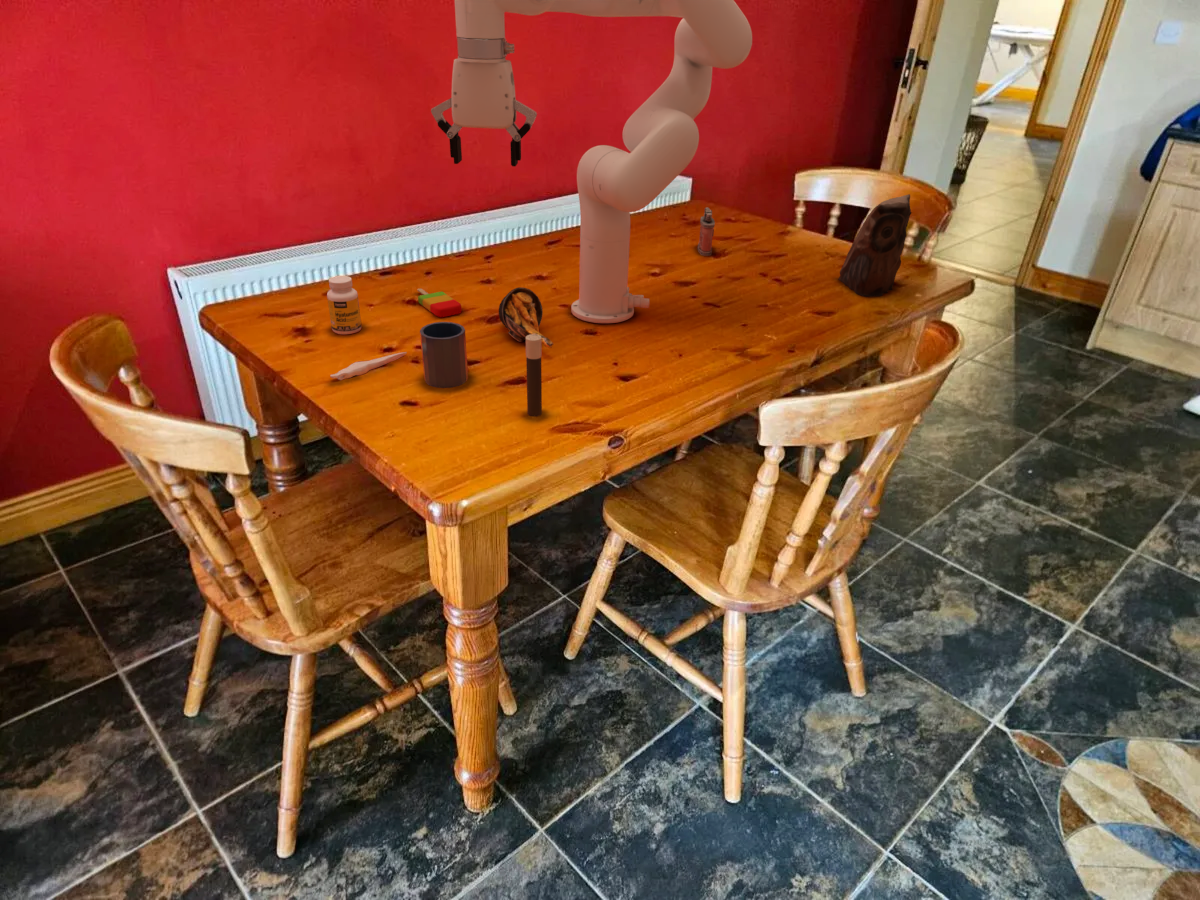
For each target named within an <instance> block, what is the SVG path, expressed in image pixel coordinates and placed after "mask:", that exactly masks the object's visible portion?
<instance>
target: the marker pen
mask: <svg viewBox="0 0 1200 900" xmlns="http://www.w3.org/2000/svg"><path fill="white" fill-rule="evenodd" d="M542 345H543V343H542V340H541V336H540V335H537V334H530V335H527V336H526V340H525V357H526V358H525V359H526V361H525V362H526V365H525V367H526V404H527V405H526V409H527V410H526V411H527V415H528V416H530V417H533V418H534V417H540V416H541V415H542V413H543V399H542V398H543V397H542V396H543V393H542V391H543V390H542V389H543V387H542V385H543V384H542V383H543V382H542V378H543V377H542V357H543V355H542V351H543V349H542Z"/></svg>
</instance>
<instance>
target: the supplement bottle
mask: <svg viewBox="0 0 1200 900" xmlns="http://www.w3.org/2000/svg"><path fill="white" fill-rule="evenodd" d="M328 283H329V284H328V285H329V290H328V291H327V294H326V298H327V299H326V300H327V304H328V312H329V313H328V314H329V319H330V325H331V326H330V327H331V330H332V332H333V333H335V334H338V335H351V334H355V333H358V332H360V331H361V330H362V318H361V309H360V301H359V293H358V291H357V290H356V289H355V288H353V279H352V277H350V276H349V275H335V276H332V277H329V279H328Z"/></svg>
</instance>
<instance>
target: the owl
mask: <svg viewBox="0 0 1200 900" xmlns="http://www.w3.org/2000/svg"><path fill="white" fill-rule="evenodd" d="M910 200H911V194H910V193H909V194H905V195H902V196H897V197H893V198H889V199H886V200H883V201H881V202H880V203H879V204H878V205H876V206H875V207H874V208H873V209H872V210H871V211H870V212H869V214H867V217H866V218H865V220H864V221H863V223H862V226H861V228H860V229H859V231H858V233H857V234H856V237H855V239H854V240H853V242H852V244H851V246H850V248H849V250H848V252H847V254H846V257H845V260H844V262H843V265H842V267H841V268H840V270H839V276H838V278H837V280H838V281H840V283H843V285H845V286H847V287H848V288H849V289H850V290H852V291H853V292H854V293H855V294H856V295H859V296H861V297H865V298H870V297H871V298H873V297H882V296H883V295H884V294H888V293H889V291H893V286H894V284H895V280H896V276H897V273H898V271H899V269H900V268H901V266H902V265H901V264H902V259H901V256H902V254H903V251H904V248H905V242H906V238H907V227H908V225H909V220H910V217H911V215H912V210H911V202H910Z"/></svg>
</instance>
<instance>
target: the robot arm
mask: <svg viewBox="0 0 1200 900" xmlns="http://www.w3.org/2000/svg"><path fill="white" fill-rule="evenodd" d="M548 12H550V13H552V12H553V13H568V14H570V13H571V14H576V15H582V16H587V17H598V18H599V17H601V18H618V17H619V18H620V17H621V18H622V17H623V18H624V17H625V18H626V17H674V18H682V19H681V20H680V21H679V23H678V25H677V27H676V30H675V33H674V42H673V43H674V44H673V45H674V46H673V47H674V49H673V50H674V51H673V52H674V54H673V64H672V67H671V71H670V73H669V75H668V76H667V78H666V79H665V80H664V81H663V82H662V83H661V85H660V86H659V87H658V88H656V89H655V91H654V92H652V94H650V96H649V97H648V98H647V99H646V100H645V101H644V102H643V103H642V104H641V105H640V106H638V108H637V109H635V111H634V112H633V113H632V114H631V115H630V116H629V117H628V119H627V120H626V122H625V123H624V126H623V128H622V129H623V130H622V134H621V135H622V141H623V144H624V147H626V149H627V151H626V150H624V149H620V148H618V147H615V146H613V145H609V144H608V145H607V144H600V145H596V146H593V147H591V148H588V150H586V151H585V152H584V154H583V155H582V156H581V158H580V160H579V162H578V164H577V168H576V185H577V186H576V187H577V194H578V201H579V211H580V212H579V215H580V228H579V231H580V233H579V239H580V240H579V283H578V284H579V287H578V290H579V291H578V299H576V300H575V301H573V302H572V304H571V306H570V310H571V311H570V312H571V315H572V316H574V317H575V318H577V319H579V320H581V321H584V322H588V323H594V324H615V323H616V324H617V323H621V322H625V321H627V320H629V319H631V318H633V316H634V313H635V308H640V309H650V301H651V300H650V298H647V297H644V294H633V293H630V287H629V285H628V282H629V262H630V243H631V242H630V241H631V213H634V212H638V211H641V210H642V209H645V208H646V207H647V206H648V205H650V204H651V203H652V202H653V201H655V199H656V198H657V197H658V196H659V195H660V194H662V192H663V191H664V190H665V189H667V187H668V186H670V184H671V183H672V182H673V181H675V179H676V178H677V177H678V176H679V175H680V174H681V173H682V172H683V171H684V170H685V169H686V168H688V165H689V164H691V162H692V160H693V158H694V157H695V155H696V153H697V150H698V147H699V142H700V133H699V128H698V125H697V123H696V121H694V120H695V119H696V118H697V117H698V115H699V114H700V113H701V112H702V111H703V109H704V108H705V107H706V105H707V104H708V103H707V102H708V100H709V97H710V94H711V90H712V89H711V88H712V80H713V68H718V69H725V70H726V69H727V70H728V69H734V68H735V67H738V66H740V65H741V64H742V63H743V62H745V60H747V58H748V56H749V55H750V52H751V49H752V46H753V31H752V28H751V25H750V22H749V21H748V20H749V19H747V17H746V15H745V14H744V12H743V11H742V10H741V8H740V7H739V5H738V4H737V3H736V1H735V0H454V13H455V14H454V15H455V31H456V33H455V35H456V50H457V51H456V52H457V58H454V59H453V65H452V74H451V75H452V76H451V97H450V98H449V99H446V100H444V101H443V102H441V103H439V104H437V105H436V106H434V107H431V110H430V112H431V115H432V116H433V119H434V120H435V122H436V123H437V126H438V128H439V129H440V130H441V131H442V132H443V133H444V134H445V135H446V137H447V138H448V141H449V153H450V159H451V158H452V159H453V164H454V165H458V164H459V163H461V162H462V161H463V154H462V153H463V152H462V138H461V136H460V135H459V132H460V131H461V129H462V128H472V129H473V128H474V129H493V130H494V129H496V130H497V129H499V130H501V129H503V130H504V129H505V130H506V132H507V133H508V134H509V135H510V137H511V140H510V145H509V146H510V166H512V167H513V168H514V167H517V165H518V164H519V162H520V161H521V160H522V139H523V138H524V137H525V136H526V135H527V134H528V132H529V131H530V130H531V129H532V126H533V124H534V123H535V120H536V118H537V117H538V113H537V111H535V110H534V109H532V108H530V107H529V106H528V105H525V104H524V103H523V102H521V101H519V100H517V99H516V85H515V78H514V77H515V76H514V71H513V65H512V60H508V59H506V57H507V56H508V55H510V54H515V43H510V42H508V40H507V38H506V30H505V29H506V27H505V26H506V25H505V13H509V14H519V15H524V16H539V15H541V14H544V13H548ZM450 109H451V118H452V122H453V124H451V123H449V122H448V121H447V119H446V118H445V116H444V112H445V111H448V110H450ZM517 112H518V113H520V114H522V115H523V116H524V117H525V121H524V123H523V125H522V126H520V127H519V126H518V125H517V123H516V121H517ZM628 151H629V152H628Z"/></svg>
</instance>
